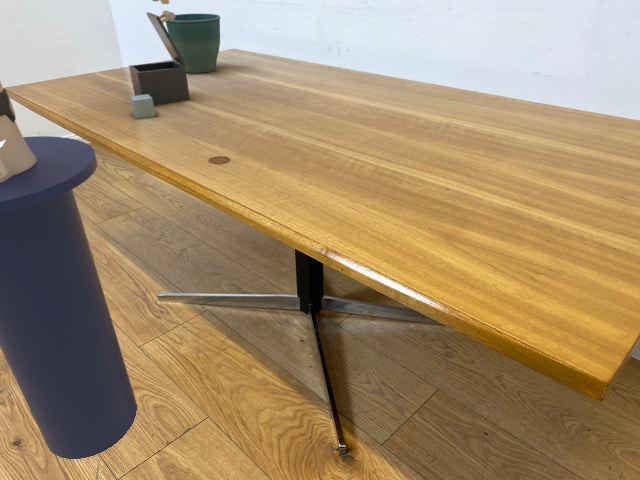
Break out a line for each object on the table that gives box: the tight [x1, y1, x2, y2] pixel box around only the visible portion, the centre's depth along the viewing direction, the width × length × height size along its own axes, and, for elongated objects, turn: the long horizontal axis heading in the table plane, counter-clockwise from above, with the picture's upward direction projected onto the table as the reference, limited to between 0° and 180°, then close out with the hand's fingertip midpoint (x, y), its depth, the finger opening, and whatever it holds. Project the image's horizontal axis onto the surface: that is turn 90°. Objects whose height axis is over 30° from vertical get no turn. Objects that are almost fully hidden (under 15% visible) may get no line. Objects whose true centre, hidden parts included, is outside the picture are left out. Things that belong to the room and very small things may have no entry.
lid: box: [145, 10, 186, 66], centre depth 130 cm, size 13×11×5 cm
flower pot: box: [165, 13, 221, 74], centre depth 164 cm, size 18×18×17 cm
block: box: [129, 94, 156, 119], centre depth 122 cm, size 4×4×4 cm
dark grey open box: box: [128, 60, 191, 106], centre depth 134 cm, size 13×11×9 cm
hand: (160, 2), depth 125 cm, fingers open, 8 cm apart
